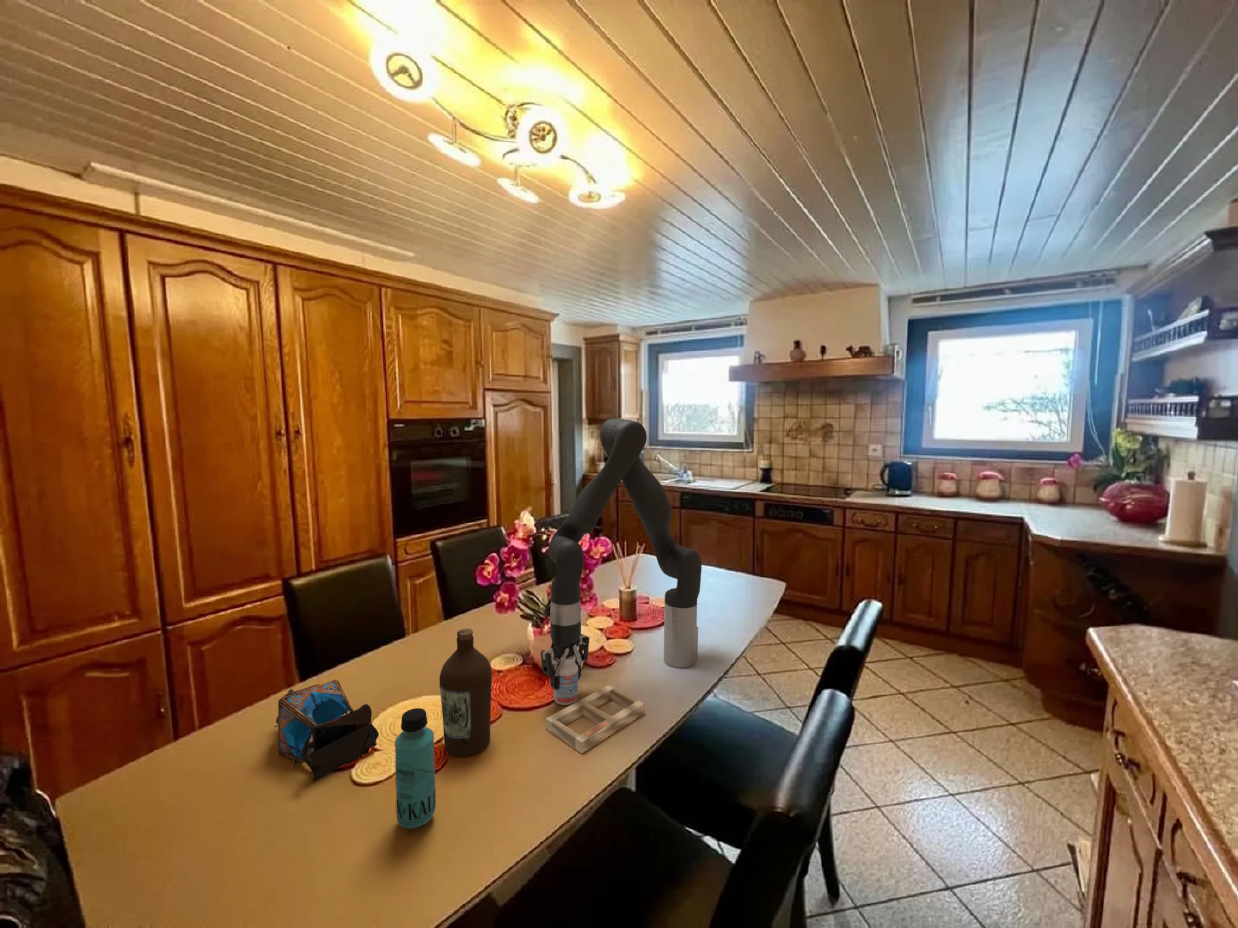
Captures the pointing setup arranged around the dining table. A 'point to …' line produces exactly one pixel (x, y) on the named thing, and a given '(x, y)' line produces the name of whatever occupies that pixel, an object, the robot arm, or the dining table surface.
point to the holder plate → (594, 718)
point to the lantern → (323, 728)
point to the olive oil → (466, 698)
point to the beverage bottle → (415, 770)
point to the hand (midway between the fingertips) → (565, 683)
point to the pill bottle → (567, 683)
